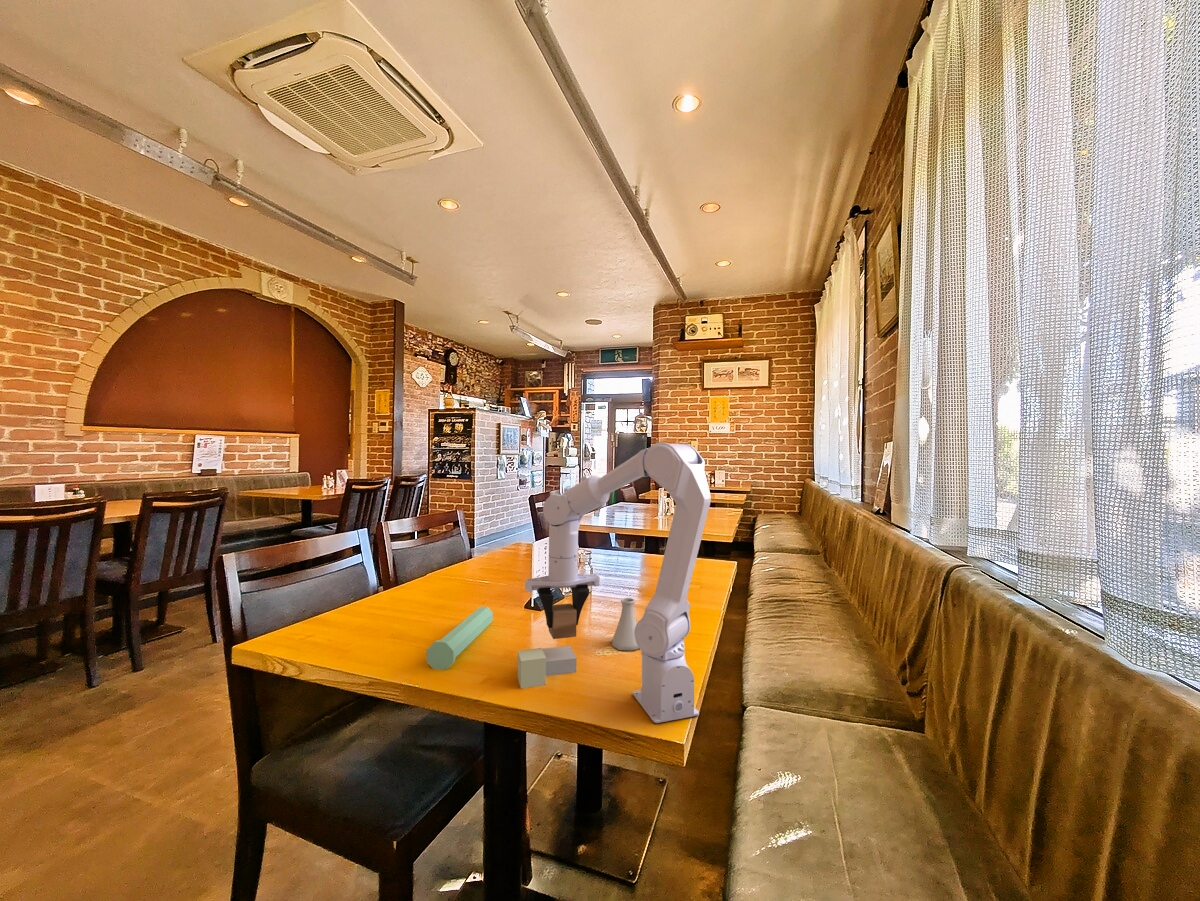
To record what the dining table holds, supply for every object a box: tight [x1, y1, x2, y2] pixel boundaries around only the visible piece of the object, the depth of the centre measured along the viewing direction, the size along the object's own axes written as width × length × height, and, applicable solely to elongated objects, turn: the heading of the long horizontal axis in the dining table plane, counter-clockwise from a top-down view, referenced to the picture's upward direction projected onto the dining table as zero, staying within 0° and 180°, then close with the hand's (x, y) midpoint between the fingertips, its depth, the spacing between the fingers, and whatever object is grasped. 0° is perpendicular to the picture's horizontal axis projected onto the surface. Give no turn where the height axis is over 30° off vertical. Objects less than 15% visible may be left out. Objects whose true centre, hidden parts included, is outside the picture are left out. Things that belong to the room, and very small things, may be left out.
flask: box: [611, 597, 641, 651], centre depth 103 cm, size 7×7×10 cm
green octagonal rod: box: [426, 606, 494, 671], centre depth 103 cm, size 6×6×25 cm
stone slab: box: [542, 645, 577, 677], centre depth 92 cm, size 6×6×3 cm
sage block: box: [517, 647, 547, 689], centre depth 86 cm, size 4×4×5 cm
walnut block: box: [548, 602, 577, 640], centre depth 91 cm, size 4×4×5 cm
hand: (562, 624), depth 91 cm, fingers closed on walnut block, 4 cm apart
